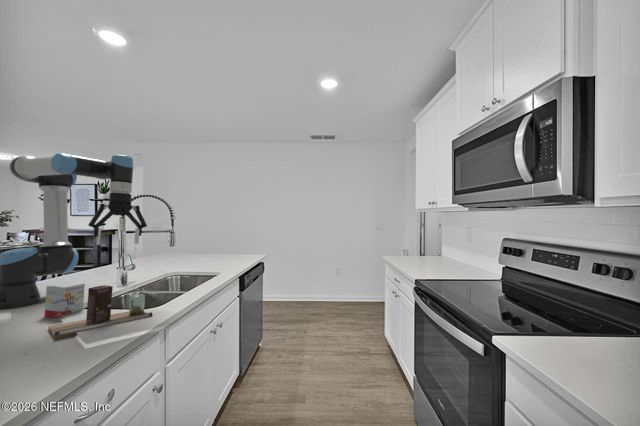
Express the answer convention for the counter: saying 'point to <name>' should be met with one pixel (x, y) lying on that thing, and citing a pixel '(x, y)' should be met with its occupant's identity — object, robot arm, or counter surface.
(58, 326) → the shelf board
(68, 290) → the ink box
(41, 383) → the counter surface
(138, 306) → the green glass jar
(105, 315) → the box
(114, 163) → the robot arm
